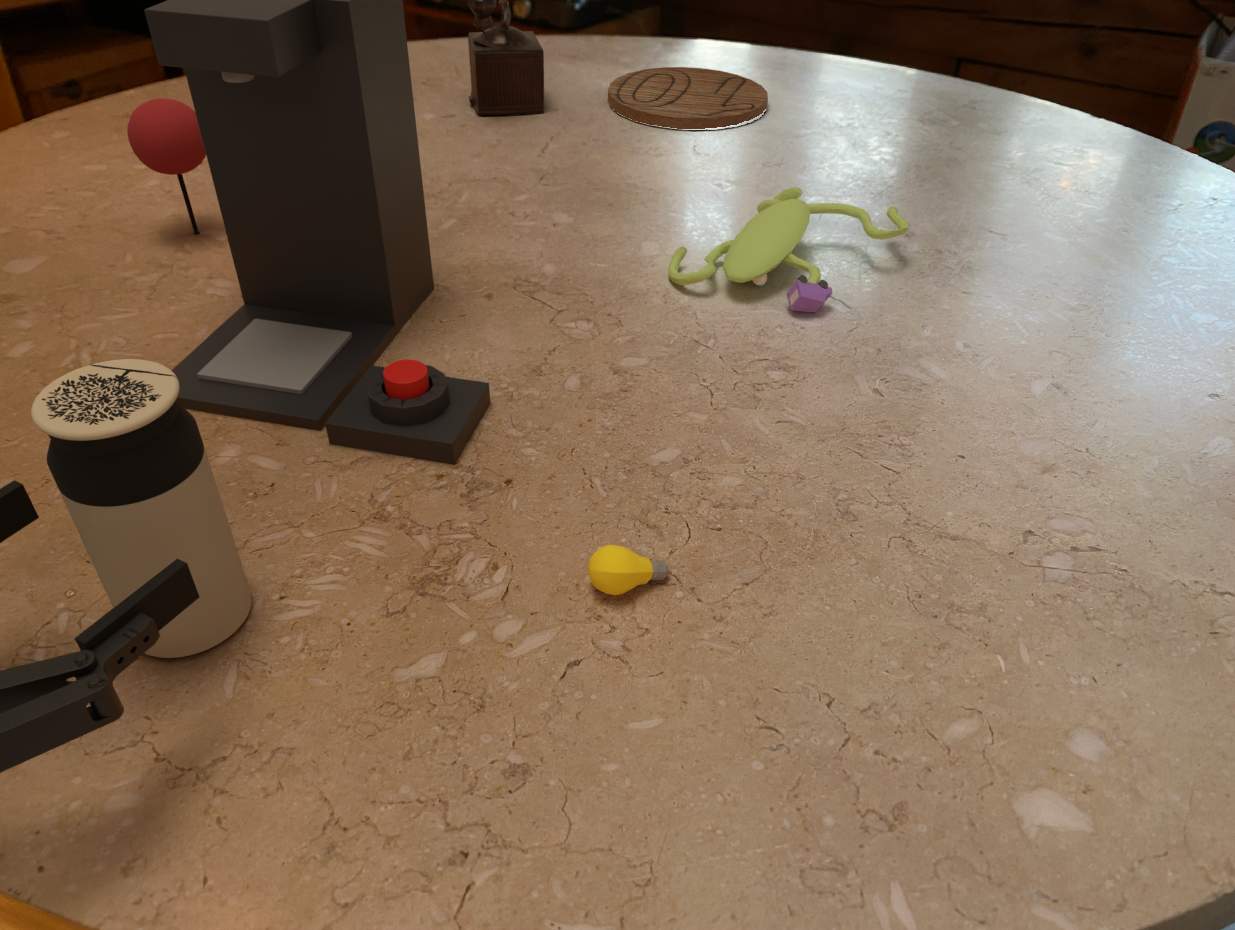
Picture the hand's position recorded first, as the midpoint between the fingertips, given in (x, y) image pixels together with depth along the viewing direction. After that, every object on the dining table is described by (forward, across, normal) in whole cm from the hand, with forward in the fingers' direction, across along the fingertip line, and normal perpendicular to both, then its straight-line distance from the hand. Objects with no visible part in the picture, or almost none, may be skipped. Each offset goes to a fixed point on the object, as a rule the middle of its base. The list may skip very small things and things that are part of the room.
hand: (105, 536), depth 55 cm
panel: (+28, 0, -10) cm, 30 cm away
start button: (+28, -1, -6) cm, 29 cm away
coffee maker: (+34, -18, -10) cm, 39 cm away
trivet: (+117, -16, -10) cm, 119 cm away
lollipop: (+45, -45, -10) cm, 64 cm away
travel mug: (+3, 0, -10) cm, 10 cm away
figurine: (+73, +17, -10) cm, 76 cm away
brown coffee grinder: (+100, -38, -10) cm, 107 cm away
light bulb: (+20, +24, -10) cm, 33 cm away
